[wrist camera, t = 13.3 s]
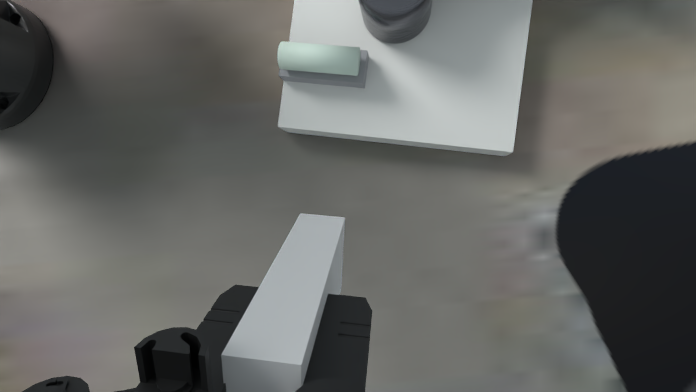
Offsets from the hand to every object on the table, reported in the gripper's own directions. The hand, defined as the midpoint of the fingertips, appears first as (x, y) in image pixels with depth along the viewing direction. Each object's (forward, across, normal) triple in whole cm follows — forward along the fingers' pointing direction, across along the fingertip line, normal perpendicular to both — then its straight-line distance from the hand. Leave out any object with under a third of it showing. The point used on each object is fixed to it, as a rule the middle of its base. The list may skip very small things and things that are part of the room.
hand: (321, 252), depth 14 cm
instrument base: (+33, +2, +8) cm, 34 cm away
